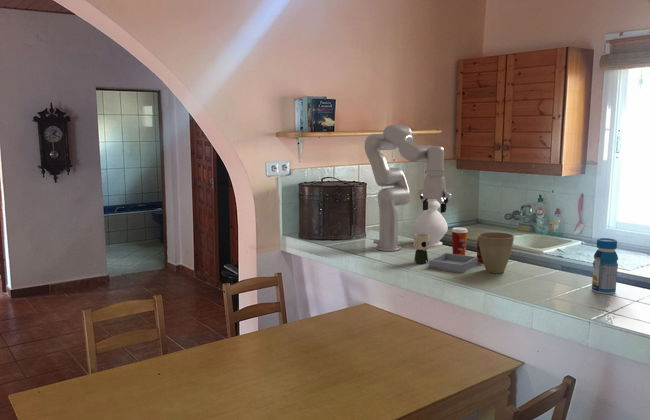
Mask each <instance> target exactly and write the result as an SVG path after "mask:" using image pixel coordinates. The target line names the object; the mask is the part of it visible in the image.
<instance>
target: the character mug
mask: <svg viewBox="0 0 650 420" xmlns="http://www.w3.org/2000/svg"><path fill="white" fill-rule="evenodd" d="M412 242H413V244H412V246H413V248H414V249H415V252H414V260H413V261H414V262H416V263H418V264H425V263H429V256H428V251H427V250H429V249H430V246H429V243H430V238H429V235H428V234H416V233H414V234H413V241H412Z"/></svg>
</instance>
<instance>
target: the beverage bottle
mask: <svg viewBox="0 0 650 420" xmlns="http://www.w3.org/2000/svg"><path fill="white" fill-rule="evenodd" d="M596 248H597V250H596V251H595V253H594V254H593V259H594V260H593V262H592V277H591V278H592V280H591V290H592V291H593V292H595V293H597V294H602V295H613V294H615V293H616V292H617V279H618V278H617V277H618V267H619V263H618V260H619V256H618V254H617V252H616V250H617V248H618V241H617V239H615V238H609V237H608V238H607V237H600V238H597V240H596Z"/></svg>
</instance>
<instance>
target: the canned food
mask: <svg viewBox="0 0 650 420" xmlns="http://www.w3.org/2000/svg"><path fill="white" fill-rule="evenodd" d="M476 257H478V263H483V260H482V256H481V252H480V247H479V240H478V238H477V242H476Z"/></svg>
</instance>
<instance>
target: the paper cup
mask: <svg viewBox="0 0 650 420" xmlns="http://www.w3.org/2000/svg"><path fill="white" fill-rule="evenodd" d="M468 233H469V231H468V228H466V227H458V226H457V227H453V228H452V229H451V239H452V240H451V242H452V244H451V246H452V254H457V255H465V256H466V249H467V241H468V240H467V235H468Z"/></svg>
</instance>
